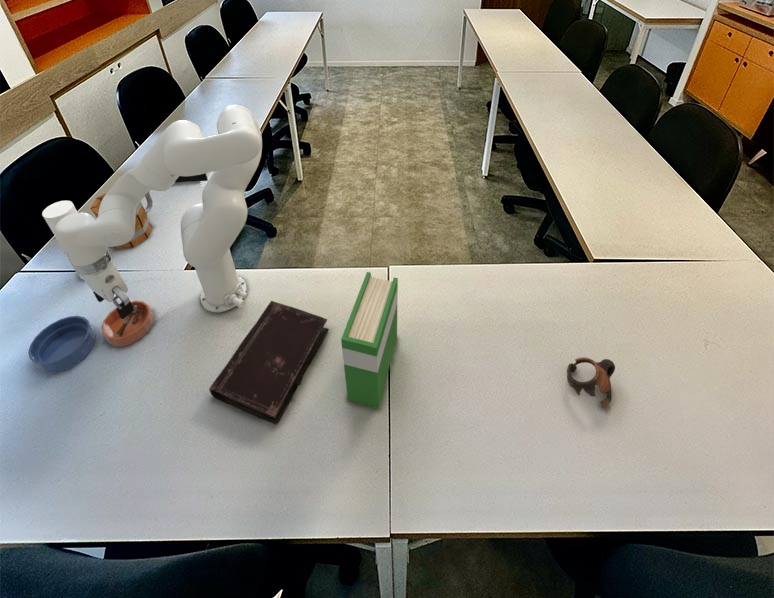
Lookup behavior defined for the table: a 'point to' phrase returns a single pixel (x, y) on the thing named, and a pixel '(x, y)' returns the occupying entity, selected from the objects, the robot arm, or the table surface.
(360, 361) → the hardback book
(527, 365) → the table surface
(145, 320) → the shallow terracotta dish
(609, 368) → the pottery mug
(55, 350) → the bowl
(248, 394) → the diary
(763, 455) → the table surface
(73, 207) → the cylindrical container
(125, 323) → the wooden post with brackets
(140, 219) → the mug
